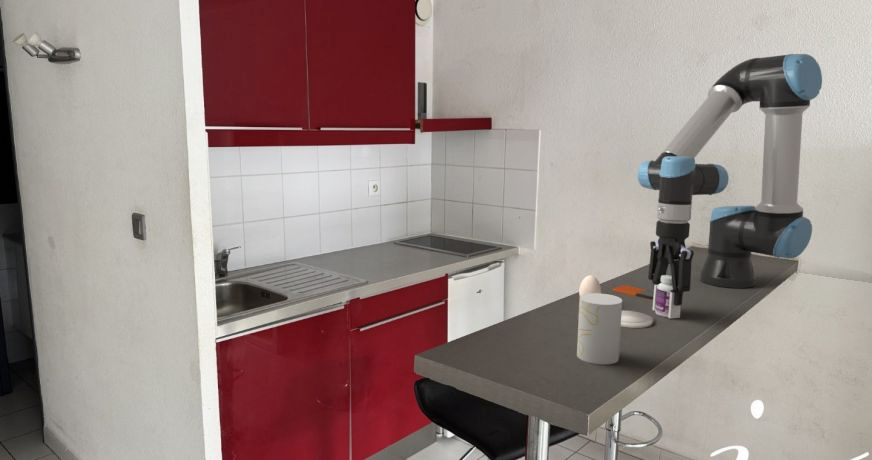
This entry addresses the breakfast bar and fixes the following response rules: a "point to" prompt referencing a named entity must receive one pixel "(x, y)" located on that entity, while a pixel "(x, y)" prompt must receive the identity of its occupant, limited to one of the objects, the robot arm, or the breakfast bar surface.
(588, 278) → the egg
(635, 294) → the phone
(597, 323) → the white upright cylinder
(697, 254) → the breakfast bar surface
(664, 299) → the pill bottle
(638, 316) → the saucer
